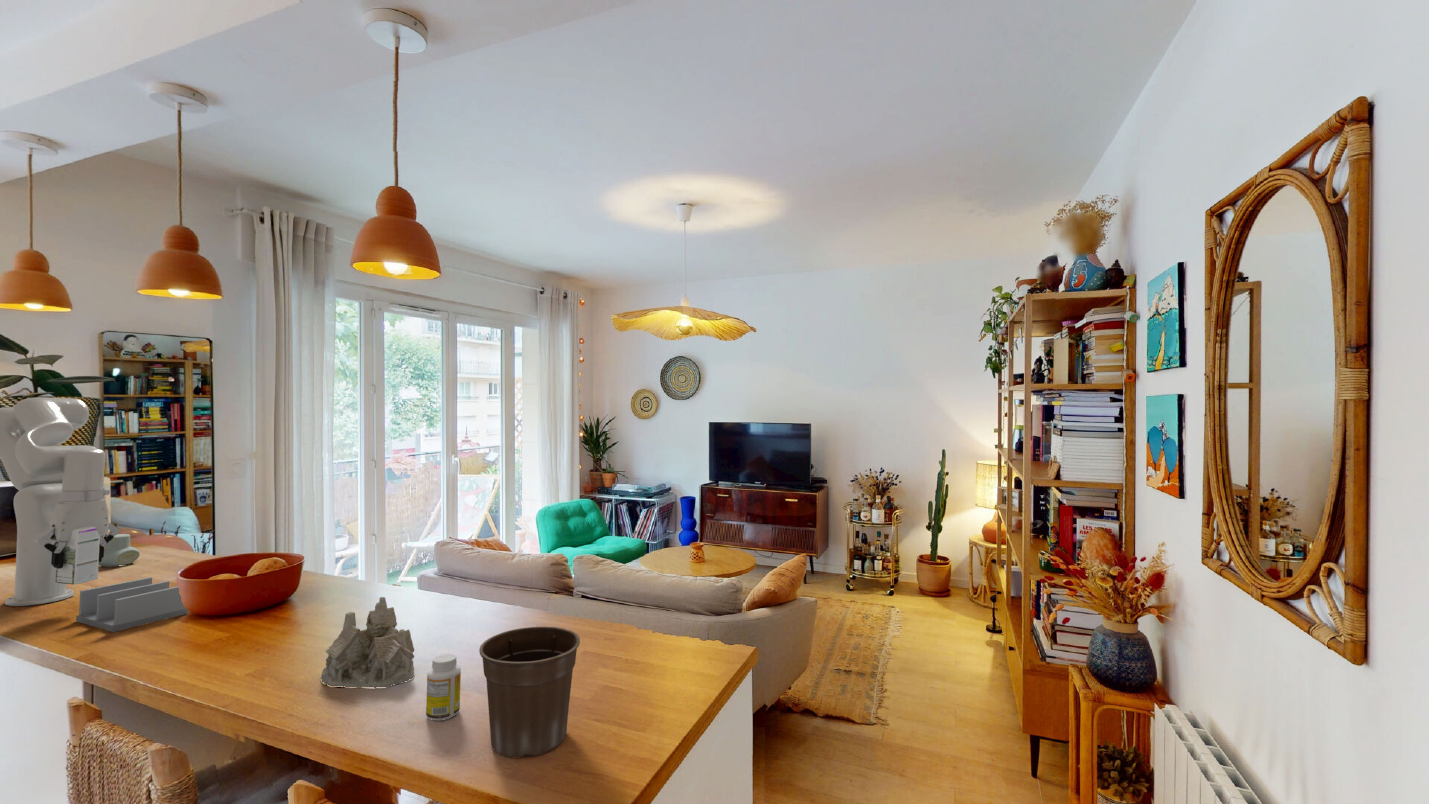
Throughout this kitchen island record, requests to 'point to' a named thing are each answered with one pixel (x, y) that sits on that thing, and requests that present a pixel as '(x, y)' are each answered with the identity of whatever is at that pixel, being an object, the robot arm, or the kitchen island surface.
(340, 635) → the ceramic cottage
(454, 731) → the kitchen island surface
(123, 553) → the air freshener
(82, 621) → the slot rack
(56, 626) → the kitchen island surface
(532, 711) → the plant pot
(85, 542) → the syrup box
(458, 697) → the supplement bottle
